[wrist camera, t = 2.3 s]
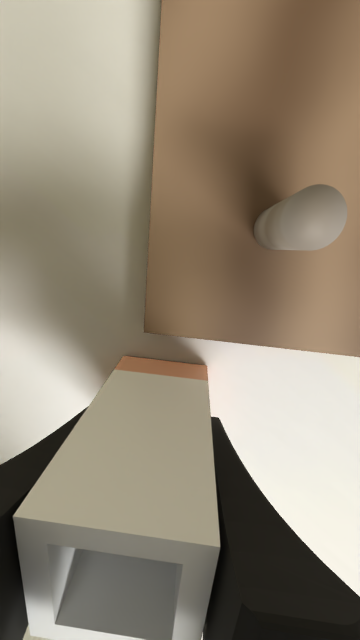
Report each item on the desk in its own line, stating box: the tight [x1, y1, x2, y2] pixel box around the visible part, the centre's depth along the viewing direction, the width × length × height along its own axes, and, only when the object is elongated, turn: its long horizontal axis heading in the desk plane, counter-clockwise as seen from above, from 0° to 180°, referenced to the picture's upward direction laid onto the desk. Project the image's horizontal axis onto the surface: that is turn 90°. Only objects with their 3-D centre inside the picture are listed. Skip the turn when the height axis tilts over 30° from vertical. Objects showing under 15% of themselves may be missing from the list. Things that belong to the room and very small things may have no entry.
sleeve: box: [13, 356, 220, 640], centre depth 10 cm, size 4×4×8 cm
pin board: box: [144, 0, 360, 357], centre depth 7 cm, size 10×20×4 cm, turn 175°
